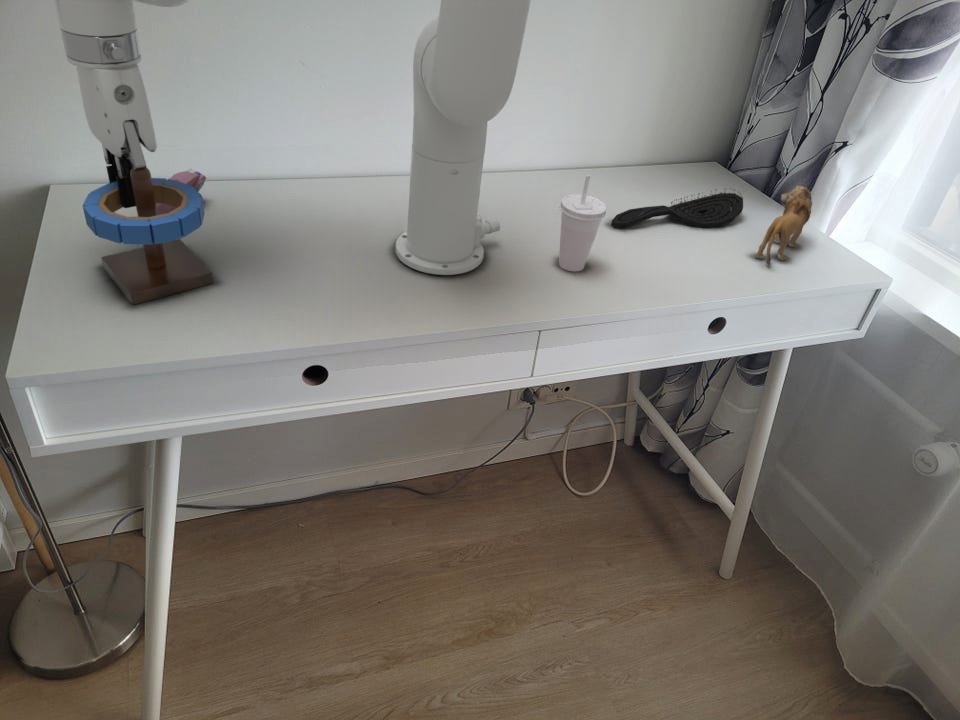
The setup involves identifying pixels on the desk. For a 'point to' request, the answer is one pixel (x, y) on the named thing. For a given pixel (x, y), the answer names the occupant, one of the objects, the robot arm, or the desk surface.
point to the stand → (154, 257)
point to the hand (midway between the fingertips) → (130, 198)
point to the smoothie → (579, 227)
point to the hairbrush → (689, 211)
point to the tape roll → (145, 228)
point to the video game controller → (185, 177)
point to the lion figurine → (788, 222)
